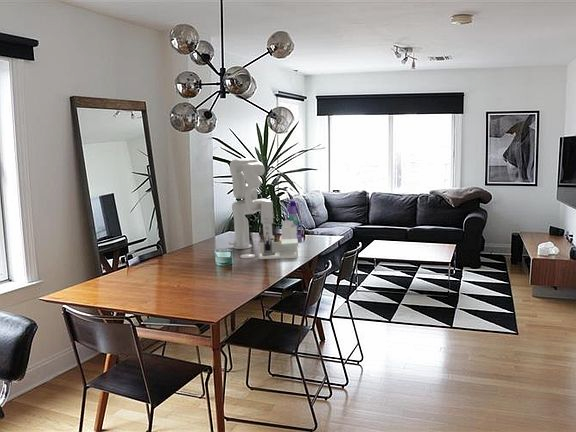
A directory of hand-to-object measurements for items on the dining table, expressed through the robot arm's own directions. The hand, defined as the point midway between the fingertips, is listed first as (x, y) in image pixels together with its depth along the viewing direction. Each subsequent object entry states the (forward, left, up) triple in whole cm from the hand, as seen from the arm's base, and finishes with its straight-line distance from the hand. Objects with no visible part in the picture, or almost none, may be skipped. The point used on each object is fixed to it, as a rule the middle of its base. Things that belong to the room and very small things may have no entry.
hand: (268, 249), depth 352 cm
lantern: (+16, +47, -5) cm, 50 cm away
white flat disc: (-13, 0, -4) cm, 13 cm away
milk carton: (+13, +19, -5) cm, 24 cm away
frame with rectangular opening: (+6, 0, -4) cm, 8 cm away
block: (0, 0, -2) cm, 2 cm away
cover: (+13, 0, +3) cm, 13 cm away
